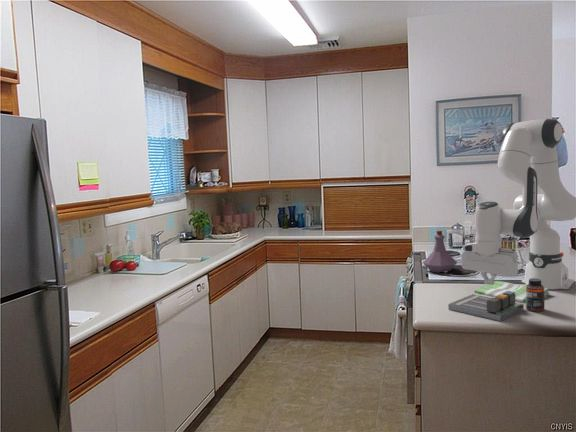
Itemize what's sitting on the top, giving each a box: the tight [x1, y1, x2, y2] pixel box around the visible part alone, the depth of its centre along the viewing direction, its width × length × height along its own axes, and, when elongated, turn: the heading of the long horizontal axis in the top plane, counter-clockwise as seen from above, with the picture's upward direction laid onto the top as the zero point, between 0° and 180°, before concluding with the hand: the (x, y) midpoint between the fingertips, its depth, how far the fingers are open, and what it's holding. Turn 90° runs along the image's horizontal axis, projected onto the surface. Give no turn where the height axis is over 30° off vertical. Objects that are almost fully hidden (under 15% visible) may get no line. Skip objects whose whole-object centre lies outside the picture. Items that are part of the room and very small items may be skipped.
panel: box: [447, 293, 525, 322], centre depth 178 cm, size 17×20×2 cm
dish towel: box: [474, 280, 550, 304], centre depth 196 cm, size 17×23×4 cm
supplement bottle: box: [525, 278, 545, 313], centre depth 174 cm, size 6×6×11 cm
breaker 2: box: [502, 291, 516, 305], centre depth 177 cm, size 4×3×4 cm
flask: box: [422, 230, 458, 273], centre depth 238 cm, size 16×16×20 cm
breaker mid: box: [494, 294, 508, 309], centre depth 173 cm, size 4×3×4 cm
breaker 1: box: [487, 297, 501, 313], centre depth 170 cm, size 4×3×4 cm
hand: (489, 283), depth 177 cm, fingers closed
